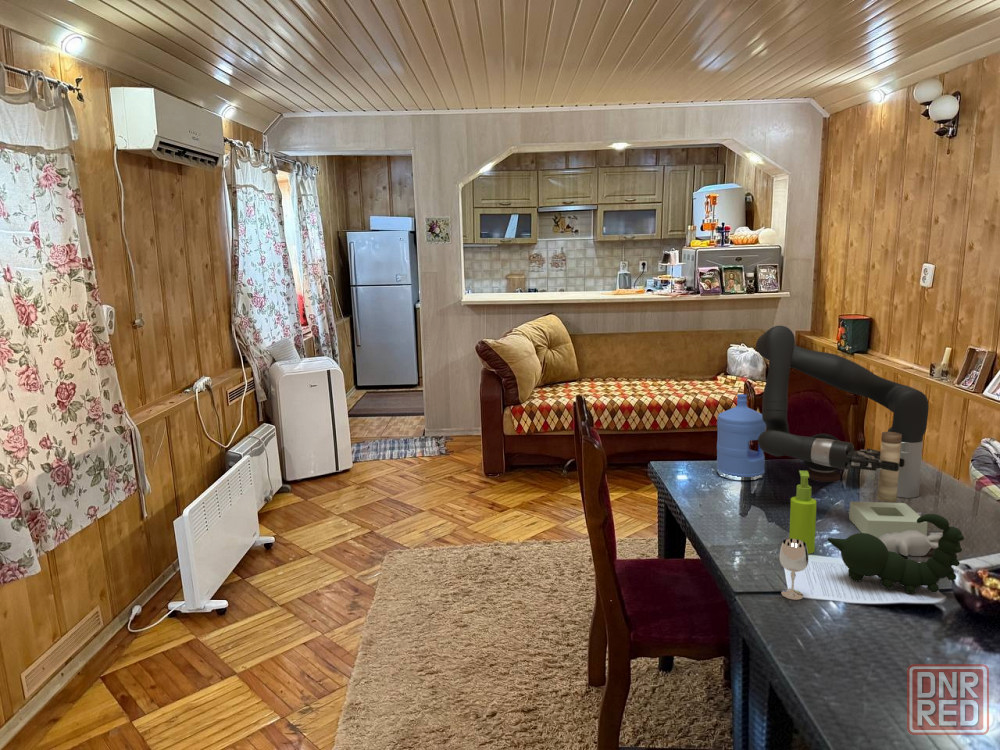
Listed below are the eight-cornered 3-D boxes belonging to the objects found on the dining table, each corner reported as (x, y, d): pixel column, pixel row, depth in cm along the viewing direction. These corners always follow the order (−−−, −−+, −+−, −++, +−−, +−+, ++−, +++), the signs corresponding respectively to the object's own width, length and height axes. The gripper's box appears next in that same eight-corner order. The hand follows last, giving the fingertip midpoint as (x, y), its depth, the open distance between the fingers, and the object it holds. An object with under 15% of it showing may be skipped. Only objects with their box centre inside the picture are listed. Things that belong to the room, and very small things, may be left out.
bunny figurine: (871, 528, 168) (936, 524, 164) (872, 547, 168) (938, 543, 165) (884, 543, 159) (954, 539, 155) (886, 563, 159) (955, 560, 156)
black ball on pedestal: (848, 476, 220) (851, 432, 218) (837, 486, 211) (840, 441, 208) (807, 469, 229) (809, 427, 227) (795, 479, 219) (796, 435, 217)
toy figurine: (946, 592, 146) (822, 563, 157) (962, 512, 142) (834, 488, 153) (953, 612, 137) (821, 580, 148) (970, 528, 134) (834, 502, 145)
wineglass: (806, 590, 145) (809, 539, 143) (806, 603, 140) (809, 550, 138) (778, 586, 148) (780, 536, 146) (777, 598, 142) (779, 546, 140)
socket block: (849, 518, 184) (850, 501, 184) (903, 520, 182) (904, 503, 181) (866, 538, 171) (868, 520, 170) (926, 540, 168) (927, 522, 167)
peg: (874, 496, 178) (879, 431, 175) (892, 496, 177) (897, 431, 174) (880, 501, 173) (885, 435, 170) (899, 502, 172) (904, 436, 170)
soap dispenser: (812, 544, 169) (815, 469, 166) (815, 555, 162) (819, 477, 159) (787, 541, 171) (790, 467, 167) (789, 552, 164) (792, 476, 161)
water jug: (714, 479, 221) (716, 398, 217) (718, 466, 236) (719, 389, 231) (764, 483, 215) (766, 400, 211) (764, 469, 230) (767, 391, 225)
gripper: (823, 445, 178) (894, 457, 166) (842, 435, 188) (910, 445, 176) (822, 472, 179) (892, 485, 167) (840, 460, 189) (908, 472, 177)
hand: (901, 465), depth 172 cm, fingers closed on peg, 4 cm apart
